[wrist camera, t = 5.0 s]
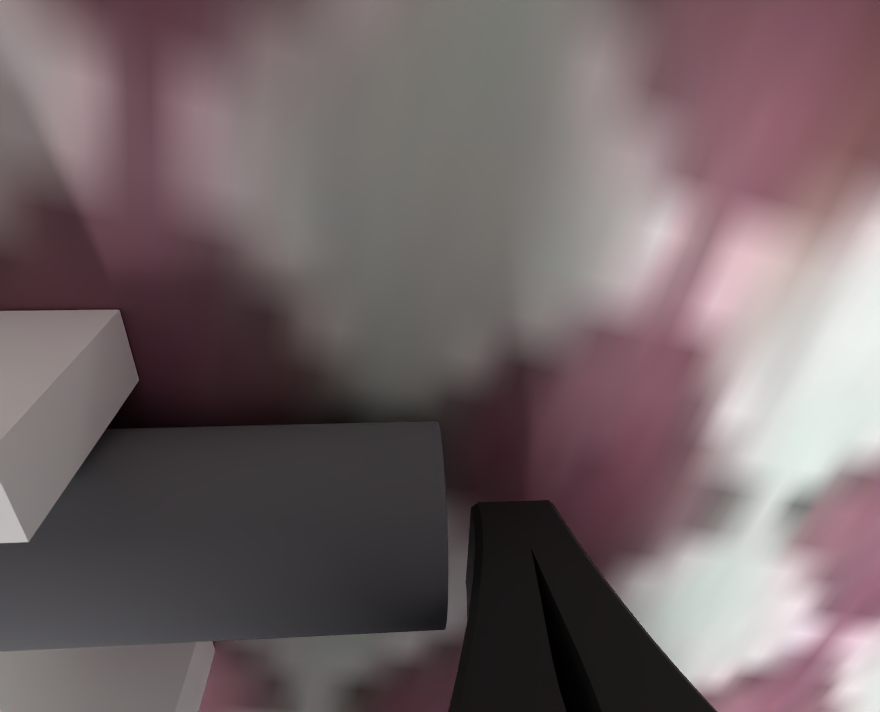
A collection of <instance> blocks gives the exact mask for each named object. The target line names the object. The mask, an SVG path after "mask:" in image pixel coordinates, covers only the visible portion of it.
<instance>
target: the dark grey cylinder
mask: <svg viewBox="0 0 880 712" xmlns="http://www.w3.org/2000/svg"><path fill="white" fill-rule="evenodd" d="M447 608H448V533H447V507H446V487H445V471H444V459H443V448H442V439H441V432H440V426H439V423H438V421H418V422H377V423H335V424H294V425H253V426H212V427H170V428H129V429H106V430H105V431H104V433H103V434H102V436H101V437H100V438H99V440H98V441H97V443H96V444H95V446H94V447H93V449H92V450H91V452H90V453H89V455H88V456H87V457H86V459H85V460H84V462H83V463H82V465H81V466H80V468H79V469H78V471H77V472H76V474H75V475H74V477H73V478H72V479H71V481H70V482H69V484H68V485H67V487H66V488H65V490H64V491H63V493H62V494H61V496H60V497H59V498H58V500H57V501H56V503H55V504H54V506H53V507H52V509H51V510H50V512H49V513H48V515H47V516H46V518H45V519H44V520H43V522H42V523H41V525H40V526H39V528H38V529H37V531H36V532H35V534H34V535H33V537H32V538H31V539H30V541H29V542H18V543H0V652H4V651H24V650H44V649H64V648H85V647H105V646H125V645H145V644H165V643H186V642H206V641H226V640H246V639H267V638H287V637H307V636H327V635H347V634H368V633H388V632H408V631H428V630H445V628H446V622H447Z"/></svg>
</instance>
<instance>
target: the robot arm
mask: <svg viewBox="0 0 880 712" xmlns="http://www.w3.org/2000/svg"><path fill="white" fill-rule="evenodd" d="M466 591H467V627H466V632H465V637H464V642H463V647H462V652H461V657H460V662H459V667H458V672H457V677H456V682H455V686H454V690H453V695H452V699H451V703H450V707H449V711H448V712H717V711H716V710H715V709H714V708H713V707H712V706H711V705H710V703H709V702H708V701H707V700H706V699H705V698H704V697H703V696H702V695H701V694H700V693H699V692H698V690H697V689H696V688H695V687H694V686H693V685H692V684H691V683H690V682H689V680H688V679H687V678H686V677H685V676H684V675H683V674H682V673H681V672H680V670H679V669H678V668H677V667H676V666H675V665H674V663H673V662H672V661H671V660H670V659H669V658H668V656H667V655H666V654H665V653H664V652H663V651H662V650H661V648H660V647H659V646H658V645H657V644H656V643H655V641H654V640H653V639H652V638H651V637H650V635H649V634H648V633H647V632H646V630H645V629H644V628H643V627H642V626H641V624H640V623H639V622H638V621H637V619H636V618H635V617H634V616H633V614H632V613H631V612H630V610H629V609H628V608H627V607H626V605H625V604H624V603H623V602H622V600H621V599H620V598H619V596H618V595H617V594H616V593H615V591H614V590H613V589H612V587H611V586H610V585H609V584H608V582H607V581H606V579H605V578H604V577H603V575H602V574H601V573H600V571H599V570H598V569H597V567H596V566H595V565H594V563H593V562H592V560H591V559H590V558H589V556H588V555H587V553H586V552H585V551H584V549H583V548H582V546H581V545H580V544H579V542H578V541H577V539H576V538H575V536H574V535H573V533H572V532H571V530H570V529H569V527H568V526H567V524H566V523H565V521H564V520H563V518H562V517H561V515H560V514H559V512H558V511H557V509H556V508H555V506H554V505H553V504H552V503H551V502H550V501H549V500H540V501H509V502H478V503H477V504H476V505H474V506H473V507H472V508H471V516H470V530H469V544H468V558H467V572H466Z"/></svg>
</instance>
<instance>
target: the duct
mask: <svg viewBox="0 0 880 712" xmlns="http://www.w3.org/2000/svg"><path fill="white" fill-rule="evenodd" d="M138 381H139V377H138V374H137V370H136V367H135V363H134V360H133V356H132V353H131V349H130V345H129V342H128V338H127V335H126V331H125V328H124V324H123V320H122V317H121V313H120V310H40V311H0V543H18V542H29V541H30V539H31V538H32V537H33V535H34V534H35V532H36V531H37V529H38V528H39V526H40V525H41V523H42V522H43V520H44V519H45V518H46V516H47V515H48V513H49V512H50V510H51V509H52V507H53V506H54V504H55V503H56V501H57V500H58V498H59V497H60V496H61V494H62V493H63V491H64V490H65V488H66V487H67V485H68V484H69V482H70V481H71V479H72V478H73V477H74V475H75V474H76V472H77V471H78V469H79V468H80V466H81V465H82V463H83V462H84V460H85V459H86V457H87V456H88V455H89V453H90V452H91V450H92V449H93V447H94V446H95V444H96V443H97V441H98V440H99V438H100V437H101V436H102V434H103V433H104V431H105V430H106V428H107V427H108V425H109V424H110V422H111V421H112V419H113V418H114V416H115V415H116V414H117V412H118V411H119V409H120V408H121V406H122V405H123V403H124V402H125V400H126V399H127V397H128V396H129V395H130V393H131V392H132V390H133V389H134V387H135V386H136V384H137V383H138ZM214 654H215V648H214V645H213V641H206V642H186V643H165V644H145V645H125V646H105V647H85V648H64V649H44V650H24V651H4V652H0V712H199V708H200V704H201V701H202V697H203V694H204V690H205V686H206V683H207V679H208V675H209V672H210V668H211V665H212V661H213V657H214Z"/></svg>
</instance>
